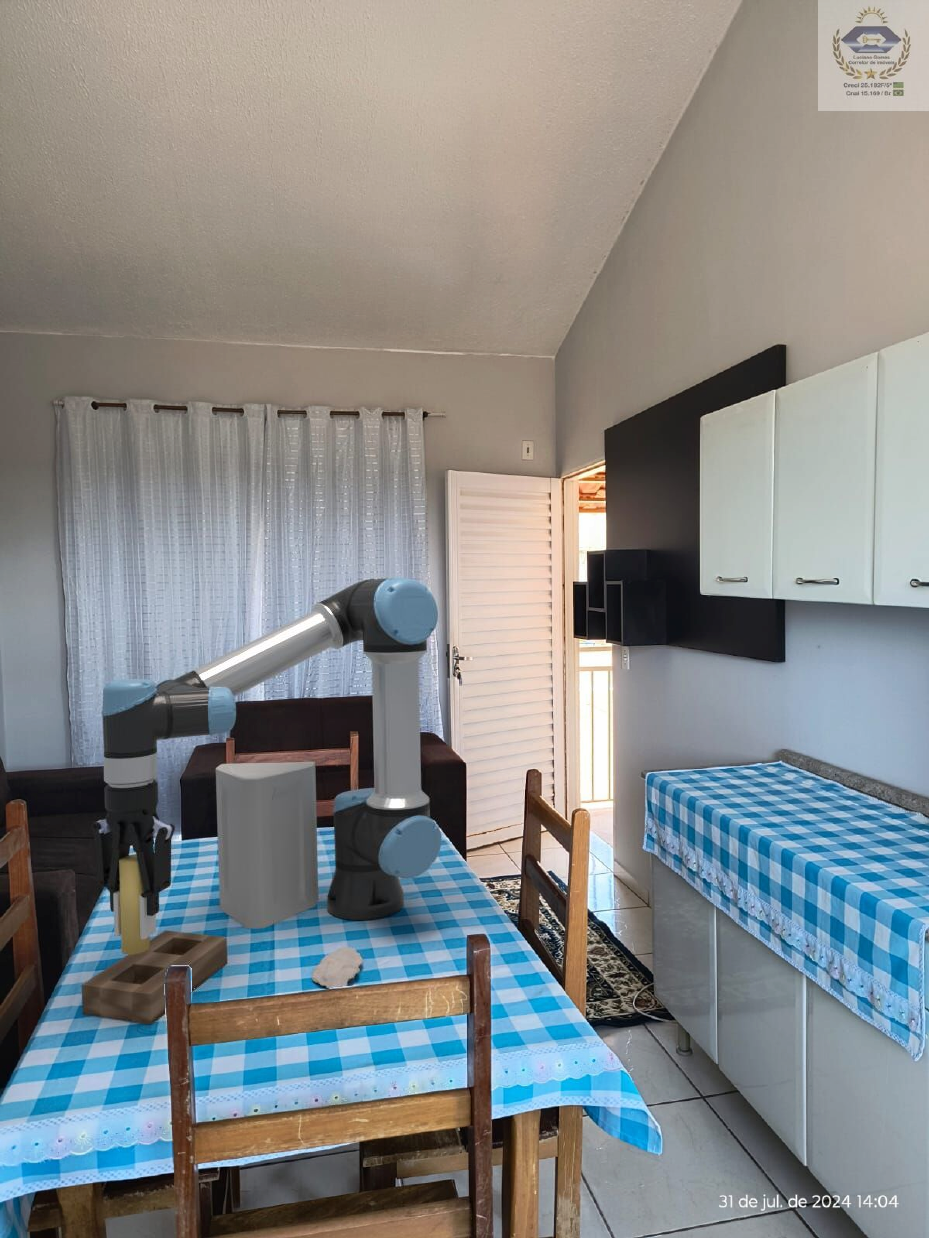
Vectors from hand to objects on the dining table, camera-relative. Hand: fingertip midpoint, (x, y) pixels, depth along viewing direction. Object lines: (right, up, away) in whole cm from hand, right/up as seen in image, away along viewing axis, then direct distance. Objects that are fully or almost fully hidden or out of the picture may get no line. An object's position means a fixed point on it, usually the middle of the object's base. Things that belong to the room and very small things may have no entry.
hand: (135, 933), depth 125 cm
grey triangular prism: (+11, -10, +35) cm, 38 cm away
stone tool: (+30, -11, +9) cm, 33 cm away
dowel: (0, -2, 0) cm, 2 cm away
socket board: (+2, -11, +5) cm, 12 cm away
